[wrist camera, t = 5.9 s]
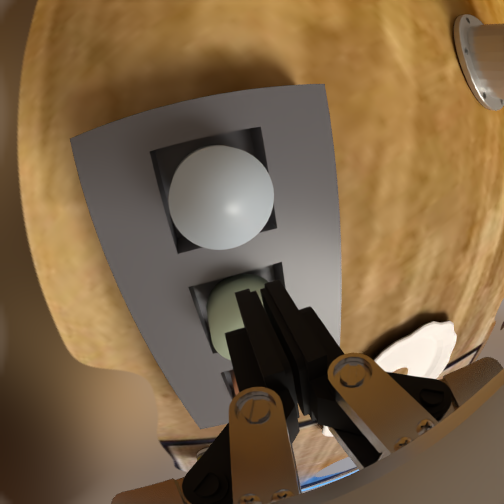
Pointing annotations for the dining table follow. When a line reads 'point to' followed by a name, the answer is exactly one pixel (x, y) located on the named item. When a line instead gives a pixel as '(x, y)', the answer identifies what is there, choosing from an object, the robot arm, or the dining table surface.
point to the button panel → (208, 260)
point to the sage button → (229, 308)
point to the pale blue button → (220, 197)
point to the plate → (418, 352)
